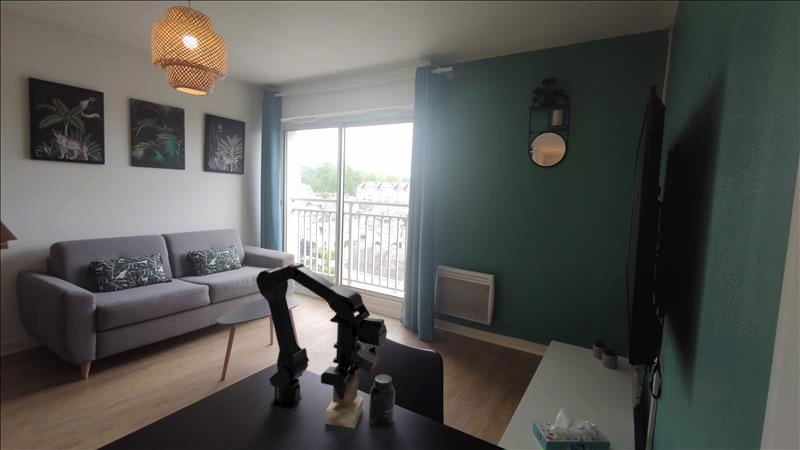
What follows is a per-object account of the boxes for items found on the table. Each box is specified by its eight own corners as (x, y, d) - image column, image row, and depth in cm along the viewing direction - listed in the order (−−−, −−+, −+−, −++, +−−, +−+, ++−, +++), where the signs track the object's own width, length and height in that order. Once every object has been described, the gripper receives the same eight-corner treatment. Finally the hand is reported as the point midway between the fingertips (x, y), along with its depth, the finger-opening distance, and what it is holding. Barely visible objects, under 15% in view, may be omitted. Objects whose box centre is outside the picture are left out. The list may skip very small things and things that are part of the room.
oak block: (325, 424, 96) (326, 409, 96) (335, 407, 104) (336, 393, 103) (354, 429, 95) (355, 414, 94) (362, 411, 103) (363, 397, 102)
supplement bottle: (390, 430, 94) (392, 386, 93) (365, 425, 96) (367, 382, 95) (396, 414, 101) (398, 374, 100) (372, 410, 103) (374, 370, 101)
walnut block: (332, 402, 97) (333, 381, 97) (340, 392, 102) (341, 372, 101) (350, 406, 96) (350, 384, 95) (357, 396, 101) (358, 375, 100)
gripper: (362, 358, 86) (359, 420, 88) (386, 331, 104) (383, 382, 105) (320, 351, 89) (318, 410, 91) (350, 325, 107) (348, 375, 108)
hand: (345, 393), depth 99 cm, fingers closed on walnut block, 5 cm apart
